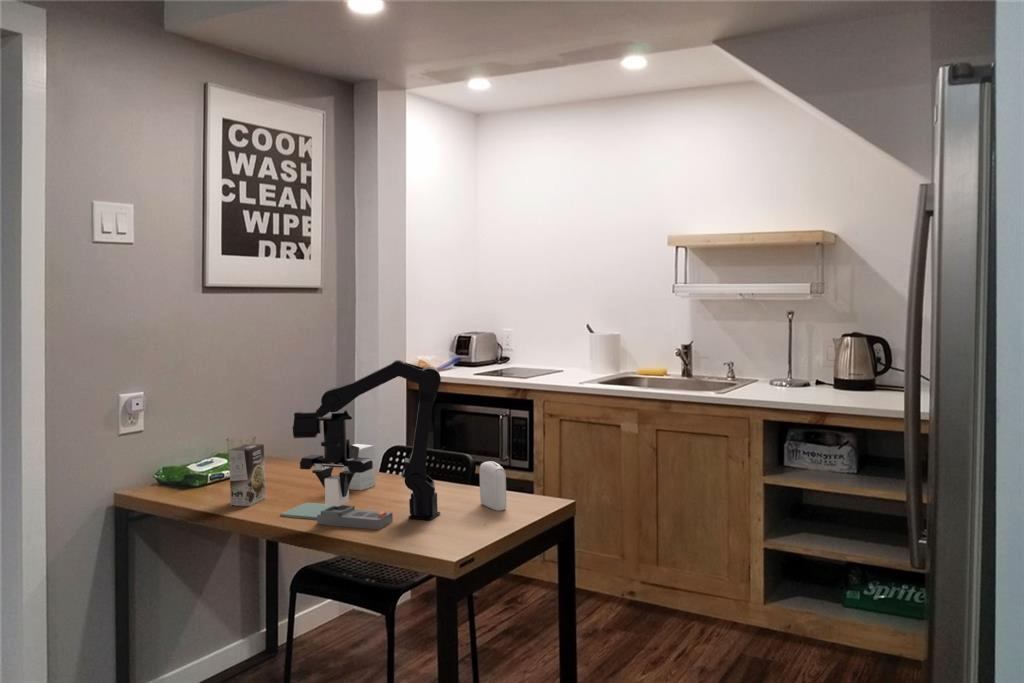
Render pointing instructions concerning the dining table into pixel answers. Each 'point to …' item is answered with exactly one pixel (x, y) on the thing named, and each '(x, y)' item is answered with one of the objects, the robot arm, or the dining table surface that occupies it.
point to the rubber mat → (305, 511)
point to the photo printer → (492, 485)
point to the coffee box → (247, 474)
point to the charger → (334, 492)
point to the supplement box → (367, 477)
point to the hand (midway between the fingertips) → (337, 496)
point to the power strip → (354, 517)
